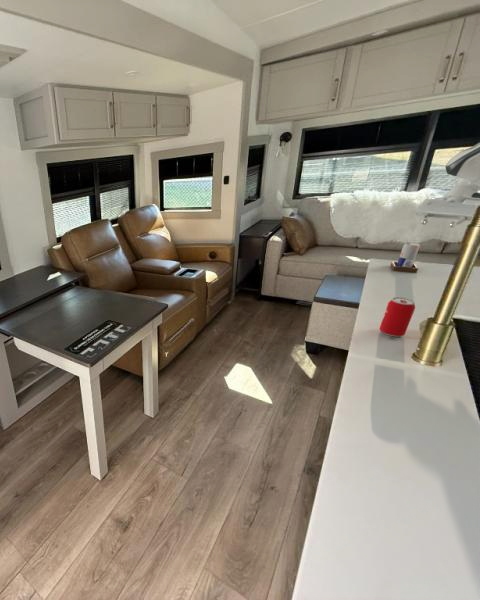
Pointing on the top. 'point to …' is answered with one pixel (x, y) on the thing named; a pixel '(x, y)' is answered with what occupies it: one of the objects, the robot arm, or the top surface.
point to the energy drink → (408, 254)
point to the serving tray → (404, 268)
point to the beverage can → (397, 316)
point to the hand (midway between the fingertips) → (437, 225)
